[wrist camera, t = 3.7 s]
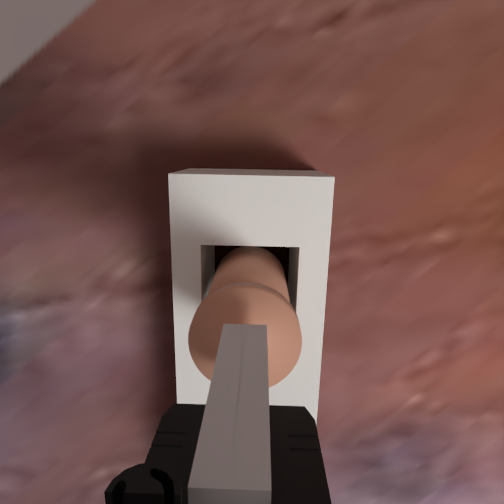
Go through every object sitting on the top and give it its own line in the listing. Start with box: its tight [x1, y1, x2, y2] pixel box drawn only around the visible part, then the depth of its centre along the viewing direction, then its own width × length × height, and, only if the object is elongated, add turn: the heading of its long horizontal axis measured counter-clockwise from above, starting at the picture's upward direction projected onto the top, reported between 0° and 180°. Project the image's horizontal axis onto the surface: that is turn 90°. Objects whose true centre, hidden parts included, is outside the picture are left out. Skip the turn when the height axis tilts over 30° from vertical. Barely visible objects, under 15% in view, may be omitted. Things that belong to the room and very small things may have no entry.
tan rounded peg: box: [188, 246, 302, 387], centre depth 18 cm, size 4×4×7 cm
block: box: [168, 168, 335, 423], centre depth 24 cm, size 8×26×6 cm, turn 179°
